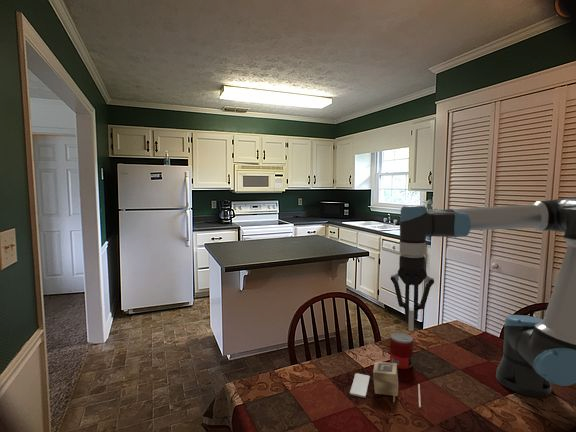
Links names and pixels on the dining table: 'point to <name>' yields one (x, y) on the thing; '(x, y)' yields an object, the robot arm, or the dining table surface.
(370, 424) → the dining table surface
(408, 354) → the canned food
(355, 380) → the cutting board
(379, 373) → the tan cube
